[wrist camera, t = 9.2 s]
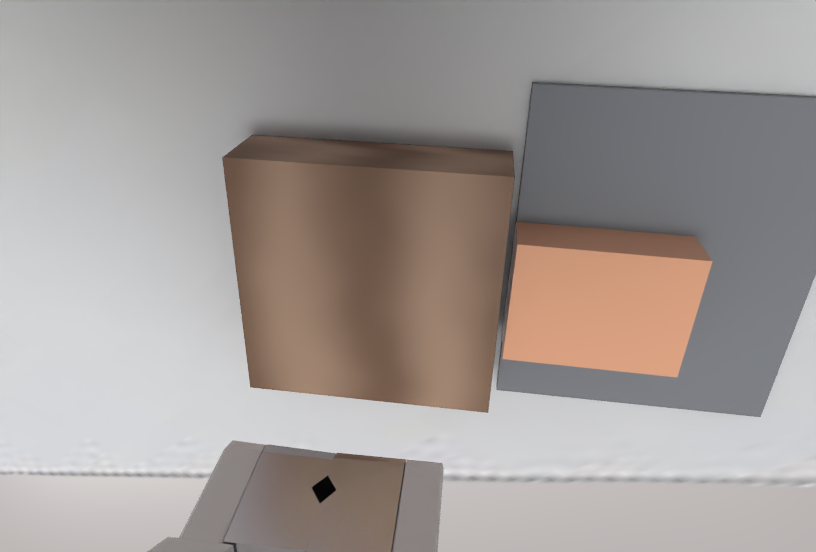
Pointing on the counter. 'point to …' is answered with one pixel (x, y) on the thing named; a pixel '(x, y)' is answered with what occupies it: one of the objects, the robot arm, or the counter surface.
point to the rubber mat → (683, 224)
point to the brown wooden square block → (370, 267)
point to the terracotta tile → (602, 298)
